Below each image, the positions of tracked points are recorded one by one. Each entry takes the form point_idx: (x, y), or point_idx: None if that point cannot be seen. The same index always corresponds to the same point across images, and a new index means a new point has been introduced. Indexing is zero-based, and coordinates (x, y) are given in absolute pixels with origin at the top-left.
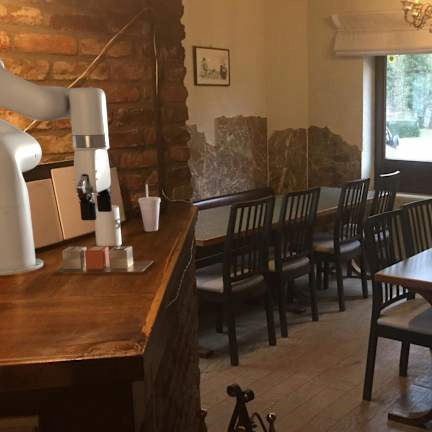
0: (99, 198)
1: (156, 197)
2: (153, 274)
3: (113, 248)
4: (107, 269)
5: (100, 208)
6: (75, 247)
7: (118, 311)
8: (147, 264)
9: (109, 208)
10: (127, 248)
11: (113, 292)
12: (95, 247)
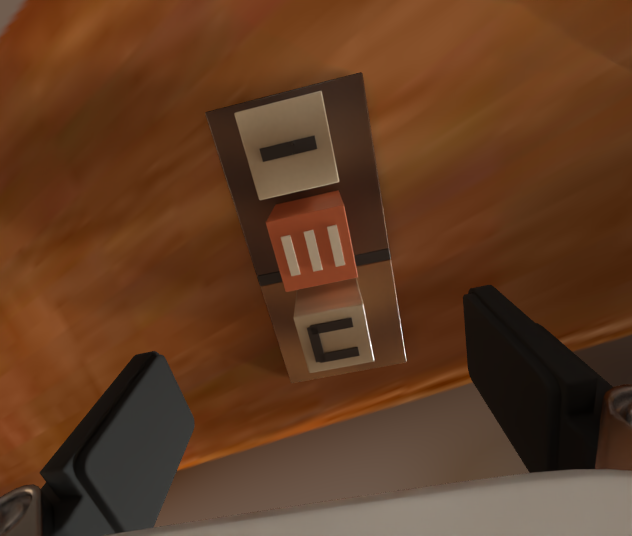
0: (529, 389)
1: None
2: (295, 403)
3: (328, 315)
4: None
5: (474, 324)
6: (303, 144)
7: (28, 453)
8: (364, 364)
9: (480, 385)
10: (338, 363)
11: None
12: (328, 236)
